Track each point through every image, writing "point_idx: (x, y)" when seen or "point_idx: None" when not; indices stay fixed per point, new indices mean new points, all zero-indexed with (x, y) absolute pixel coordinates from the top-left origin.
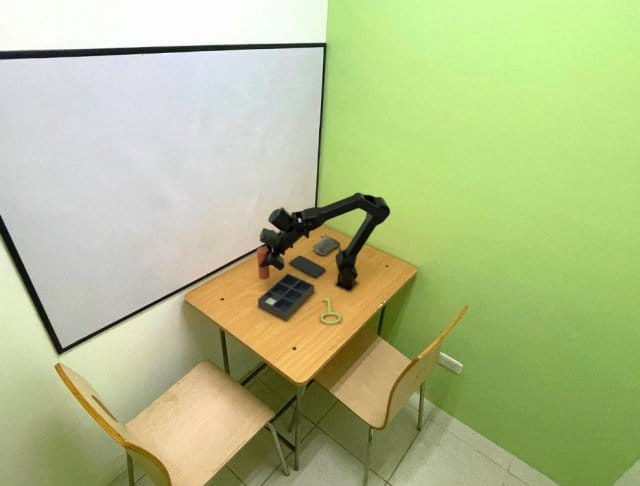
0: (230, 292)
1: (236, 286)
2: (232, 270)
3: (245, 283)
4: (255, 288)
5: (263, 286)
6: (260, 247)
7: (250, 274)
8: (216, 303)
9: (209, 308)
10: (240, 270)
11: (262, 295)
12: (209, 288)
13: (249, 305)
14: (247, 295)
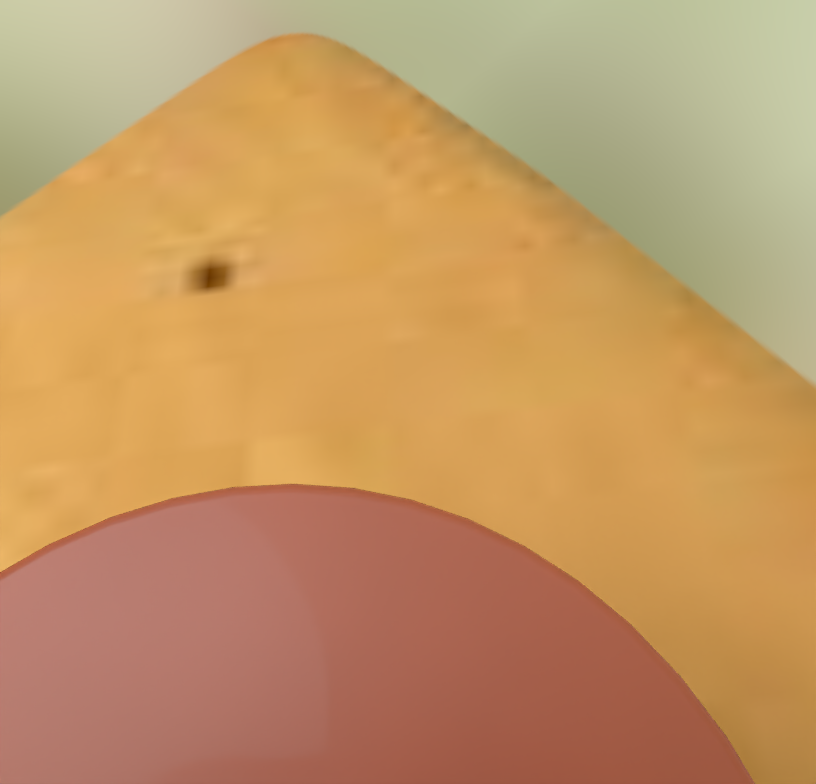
0: (314, 335)
1: (416, 382)
2: (691, 308)
3: (475, 475)
4: None
5: None
6: (674, 754)
7: (656, 517)
8: (154, 234)
9: (92, 190)
10: (709, 390)
11: None
12: (378, 150)
13: None
14: None
